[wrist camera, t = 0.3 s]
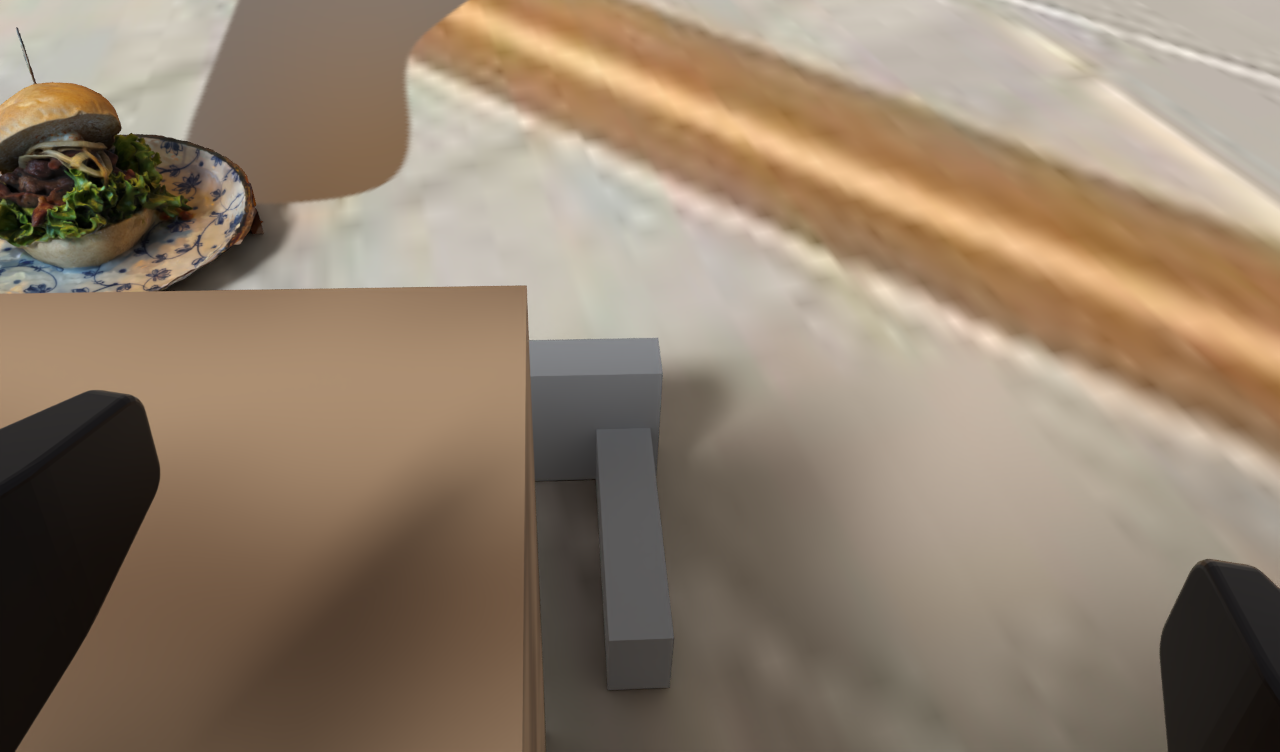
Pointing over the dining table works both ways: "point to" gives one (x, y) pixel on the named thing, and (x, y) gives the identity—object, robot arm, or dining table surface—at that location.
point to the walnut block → (305, 519)
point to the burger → (107, 198)
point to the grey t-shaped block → (612, 484)
